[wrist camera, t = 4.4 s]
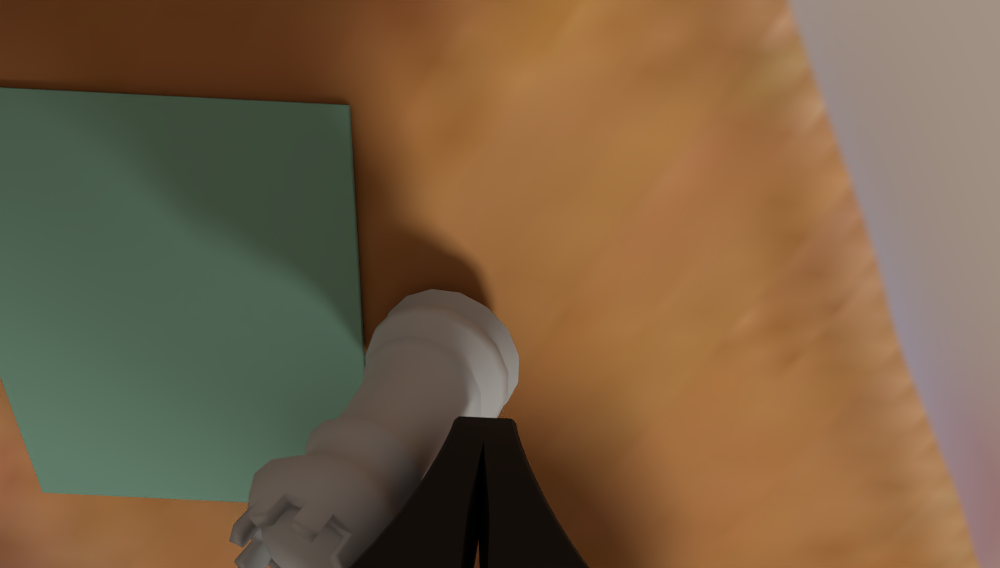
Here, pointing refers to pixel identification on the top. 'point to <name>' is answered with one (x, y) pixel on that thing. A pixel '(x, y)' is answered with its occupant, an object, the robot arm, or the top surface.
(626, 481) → the top surface
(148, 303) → the felt mat
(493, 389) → the rook chess piece
